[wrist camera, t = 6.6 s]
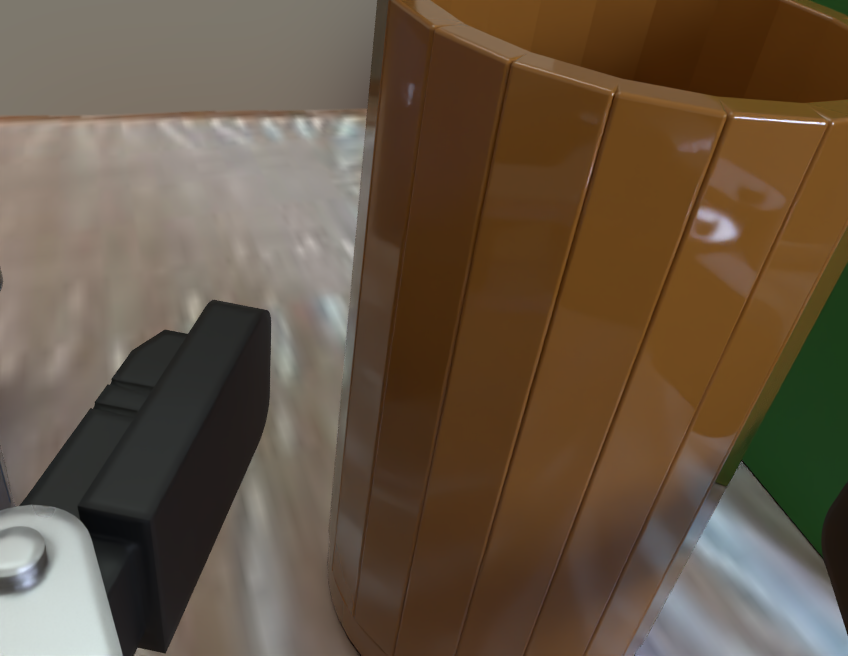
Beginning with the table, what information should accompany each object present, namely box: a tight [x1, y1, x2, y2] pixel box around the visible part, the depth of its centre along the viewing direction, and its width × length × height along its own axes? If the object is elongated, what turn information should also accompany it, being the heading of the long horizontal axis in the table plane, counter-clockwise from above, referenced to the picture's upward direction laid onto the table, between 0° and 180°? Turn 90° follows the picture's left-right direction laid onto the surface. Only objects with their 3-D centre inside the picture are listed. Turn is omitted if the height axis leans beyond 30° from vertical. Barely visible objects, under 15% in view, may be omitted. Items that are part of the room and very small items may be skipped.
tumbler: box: [327, 0, 848, 656], centre depth 13 cm, size 6×6×11 cm
